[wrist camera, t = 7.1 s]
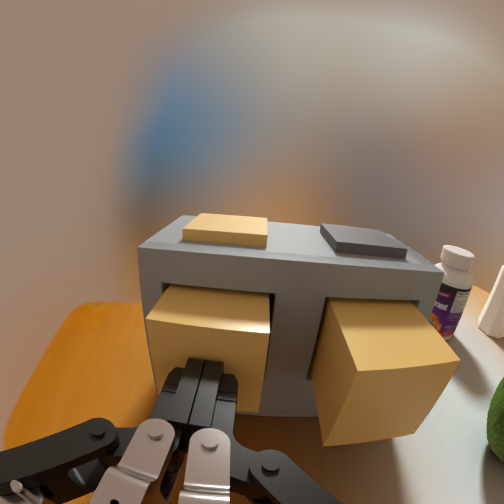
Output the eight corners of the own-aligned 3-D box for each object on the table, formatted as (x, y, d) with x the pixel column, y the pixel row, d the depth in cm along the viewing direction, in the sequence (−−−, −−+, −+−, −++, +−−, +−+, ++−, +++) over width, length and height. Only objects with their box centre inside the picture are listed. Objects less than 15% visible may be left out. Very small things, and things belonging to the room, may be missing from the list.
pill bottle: (405, 321, 28) (428, 241, 25) (434, 316, 29) (455, 243, 26) (432, 346, 23) (463, 259, 20) (460, 337, 24) (487, 259, 21)
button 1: (261, 326, 19) (268, 261, 18) (258, 412, 12) (269, 333, 10) (193, 319, 20) (192, 254, 18) (159, 398, 12) (145, 318, 10)
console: (359, 348, 23) (390, 227, 20) (385, 411, 16) (447, 262, 12) (185, 337, 24) (183, 207, 20) (159, 401, 16) (136, 235, 12)
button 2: (373, 346, 17) (393, 282, 16) (414, 433, 10) (460, 360, 8) (305, 346, 17) (319, 278, 16) (323, 446, 10) (357, 370, 8)
